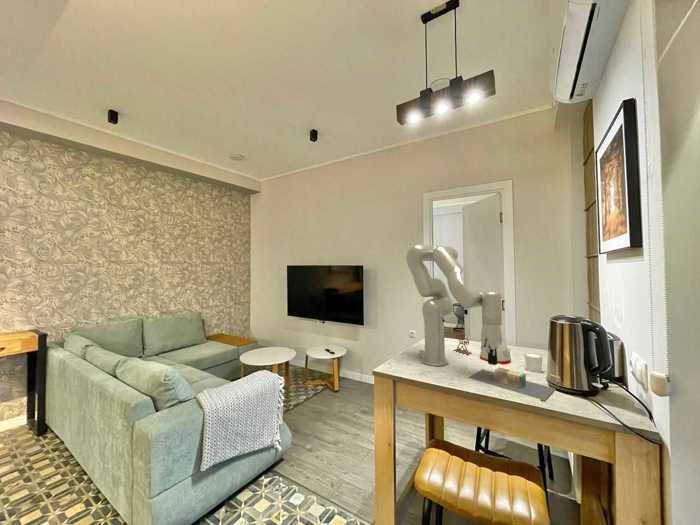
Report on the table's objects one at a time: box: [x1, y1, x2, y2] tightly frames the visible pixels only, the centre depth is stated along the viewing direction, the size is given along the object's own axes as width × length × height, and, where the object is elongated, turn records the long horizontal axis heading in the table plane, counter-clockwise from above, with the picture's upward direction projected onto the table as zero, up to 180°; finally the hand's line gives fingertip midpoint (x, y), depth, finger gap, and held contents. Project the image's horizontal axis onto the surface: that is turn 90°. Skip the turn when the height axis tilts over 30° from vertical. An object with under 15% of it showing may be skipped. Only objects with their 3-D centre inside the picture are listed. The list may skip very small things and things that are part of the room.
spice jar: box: [494, 366, 527, 388], centre depth 116 cm, size 4×4×10 cm
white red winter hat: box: [479, 340, 512, 366], centre depth 146 cm, size 14×14×15 cm
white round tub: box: [524, 352, 543, 374], centre depth 130 cm, size 7×7×7 cm
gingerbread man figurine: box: [453, 330, 473, 356], centre depth 158 cm, size 9×4×12 cm, turn 34°
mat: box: [467, 369, 556, 402], centre depth 116 cm, size 28×14×1 cm, turn 41°
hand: (492, 363), depth 121 cm, fingers closed
